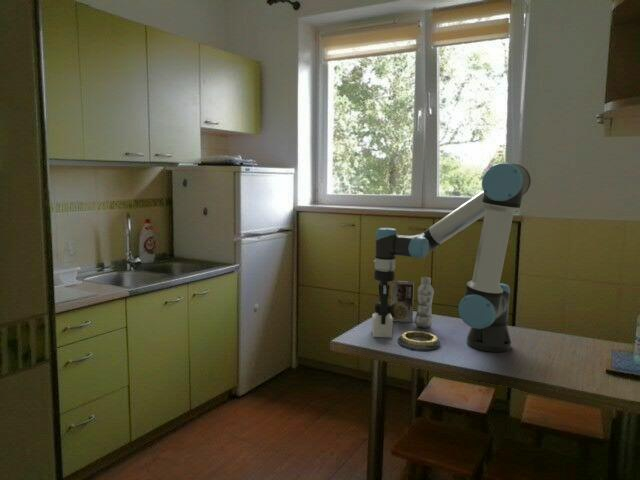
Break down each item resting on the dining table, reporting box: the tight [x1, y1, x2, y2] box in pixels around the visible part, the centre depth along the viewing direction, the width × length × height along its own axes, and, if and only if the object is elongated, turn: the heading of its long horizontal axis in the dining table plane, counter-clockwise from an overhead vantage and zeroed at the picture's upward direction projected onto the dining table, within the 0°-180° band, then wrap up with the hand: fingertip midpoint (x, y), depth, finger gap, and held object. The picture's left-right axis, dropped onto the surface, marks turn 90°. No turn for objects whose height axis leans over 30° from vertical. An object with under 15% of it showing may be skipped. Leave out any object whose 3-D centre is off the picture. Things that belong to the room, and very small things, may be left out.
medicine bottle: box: [371, 302, 394, 338], centre depth 185 cm, size 7×7×12 cm
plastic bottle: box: [414, 276, 435, 329], centre depth 195 cm, size 6×7×20 cm
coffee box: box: [390, 279, 415, 323], centre depth 205 cm, size 9×6×16 cm
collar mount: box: [397, 330, 441, 352], centre depth 177 cm, size 15×15×2 cm
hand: (382, 328), depth 185 cm, fingers open, 8 cm apart
